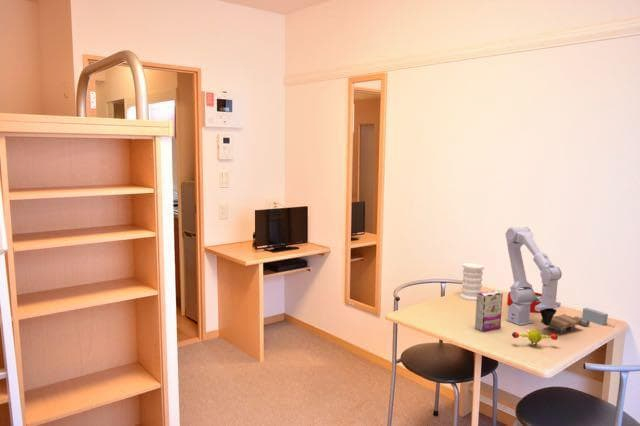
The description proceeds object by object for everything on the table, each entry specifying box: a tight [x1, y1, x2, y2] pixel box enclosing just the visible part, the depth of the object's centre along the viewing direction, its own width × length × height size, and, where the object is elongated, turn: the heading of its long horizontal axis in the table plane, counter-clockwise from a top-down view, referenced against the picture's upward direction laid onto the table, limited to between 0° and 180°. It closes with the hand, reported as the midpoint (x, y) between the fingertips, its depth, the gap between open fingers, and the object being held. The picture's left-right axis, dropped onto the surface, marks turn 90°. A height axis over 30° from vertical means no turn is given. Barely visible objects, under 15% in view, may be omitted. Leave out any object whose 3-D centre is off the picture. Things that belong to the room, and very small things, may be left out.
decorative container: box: [459, 262, 485, 302], centre depth 255 cm, size 12×12×18 cm
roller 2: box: [565, 325, 576, 331], centre depth 214 cm, size 3×6×3 cm, turn 29°
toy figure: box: [511, 328, 559, 347], centre depth 192 cm, size 18×6×7 cm, turn 88°
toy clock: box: [506, 291, 542, 314], centre depth 244 cm, size 20×6×20 cm
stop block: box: [581, 307, 609, 326], centre depth 224 cm, size 3×10×5 cm, turn 29°
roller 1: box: [548, 326, 567, 334], centre depth 210 cm, size 3×6×3 cm, turn 29°
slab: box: [540, 314, 582, 329], centre depth 211 cm, size 16×9×2 cm, turn 119°
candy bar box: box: [474, 289, 504, 333], centre depth 209 cm, size 11×5×16 cm, turn 117°
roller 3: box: [573, 316, 591, 328], centre depth 219 cm, size 3×6×3 cm, turn 29°
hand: (546, 324), depth 206 cm, fingers closed
